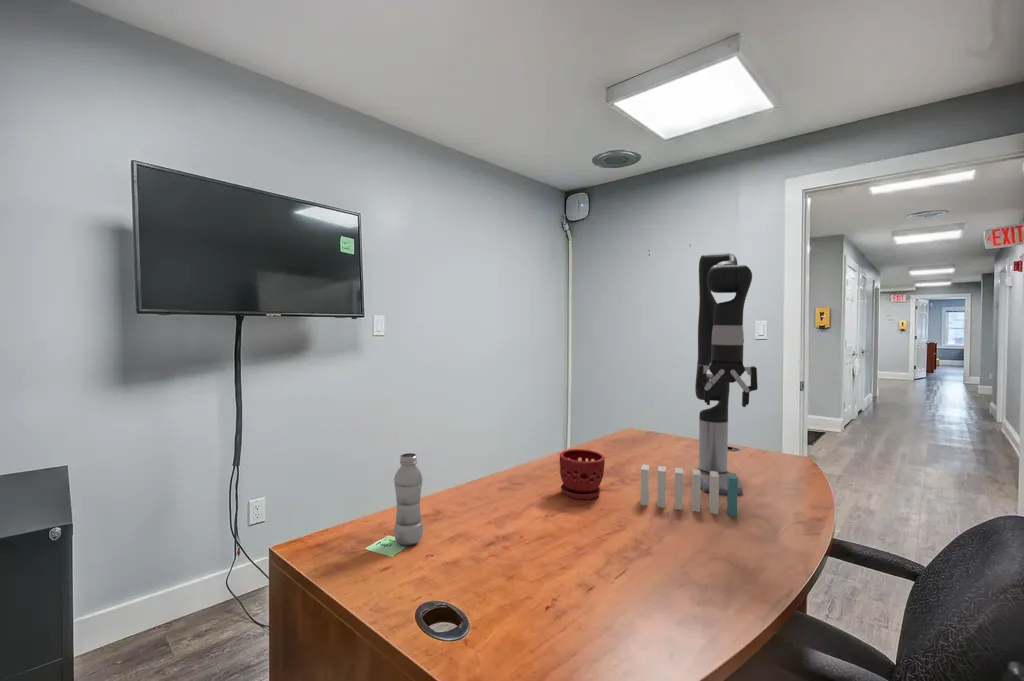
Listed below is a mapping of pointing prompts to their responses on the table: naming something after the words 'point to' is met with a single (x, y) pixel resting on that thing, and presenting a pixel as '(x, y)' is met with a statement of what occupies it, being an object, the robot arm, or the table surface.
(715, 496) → the domino
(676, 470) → the domino
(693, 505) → the domino
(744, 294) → the robot arm
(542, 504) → the table surface
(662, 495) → the domino
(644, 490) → the domino
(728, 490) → the domino
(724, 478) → the stone block
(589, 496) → the plant pot
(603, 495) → the table surface
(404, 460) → the plastic bottle
